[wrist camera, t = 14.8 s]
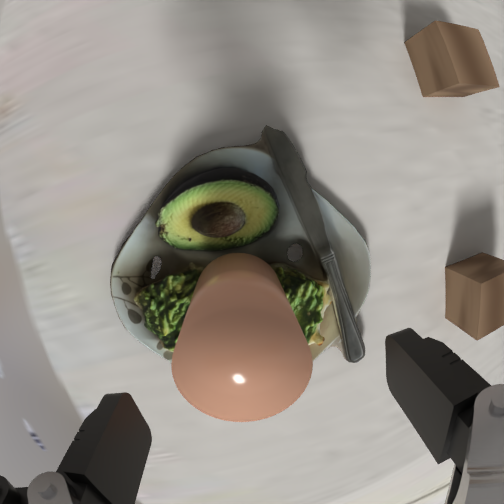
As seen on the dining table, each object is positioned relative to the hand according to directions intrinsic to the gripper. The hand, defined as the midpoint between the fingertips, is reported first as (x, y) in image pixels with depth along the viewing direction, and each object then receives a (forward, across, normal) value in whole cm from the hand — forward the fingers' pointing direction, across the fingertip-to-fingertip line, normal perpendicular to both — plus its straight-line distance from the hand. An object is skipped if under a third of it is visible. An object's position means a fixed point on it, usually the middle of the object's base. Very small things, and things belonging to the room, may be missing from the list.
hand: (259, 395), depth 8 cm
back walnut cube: (+14, -19, +7) cm, 24 cm away
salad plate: (+14, +1, 0) cm, 14 cm away
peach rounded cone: (+10, +1, 0) cm, 10 cm away
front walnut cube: (+14, -19, -13) cm, 27 cm away
